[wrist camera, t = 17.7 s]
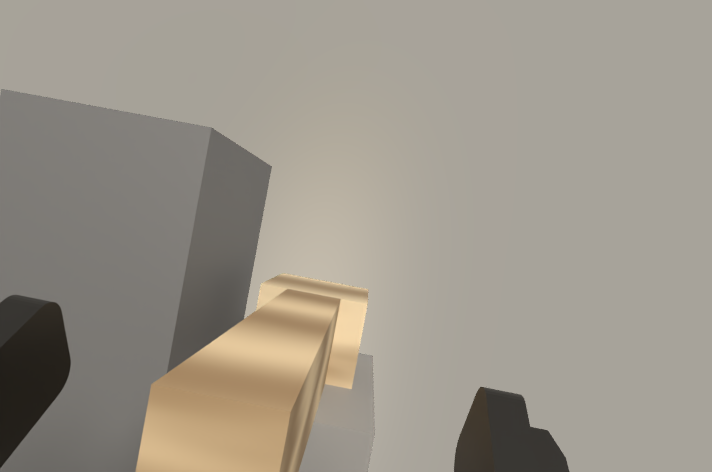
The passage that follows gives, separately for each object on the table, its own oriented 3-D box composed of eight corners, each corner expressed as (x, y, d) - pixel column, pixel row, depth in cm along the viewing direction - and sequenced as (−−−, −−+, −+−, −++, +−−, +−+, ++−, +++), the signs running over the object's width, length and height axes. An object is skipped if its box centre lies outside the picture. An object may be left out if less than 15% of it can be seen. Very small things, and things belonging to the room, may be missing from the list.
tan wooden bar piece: (319, 648, 9) (361, 425, 9) (43, 590, 9) (82, 370, 9) (355, 357, 30) (368, 289, 30) (270, 341, 30) (283, 272, 30)
